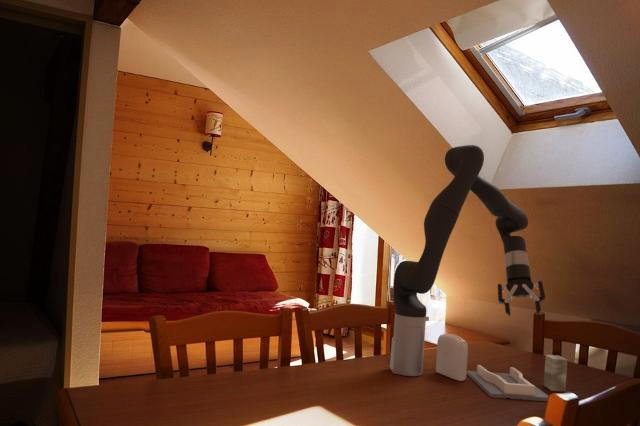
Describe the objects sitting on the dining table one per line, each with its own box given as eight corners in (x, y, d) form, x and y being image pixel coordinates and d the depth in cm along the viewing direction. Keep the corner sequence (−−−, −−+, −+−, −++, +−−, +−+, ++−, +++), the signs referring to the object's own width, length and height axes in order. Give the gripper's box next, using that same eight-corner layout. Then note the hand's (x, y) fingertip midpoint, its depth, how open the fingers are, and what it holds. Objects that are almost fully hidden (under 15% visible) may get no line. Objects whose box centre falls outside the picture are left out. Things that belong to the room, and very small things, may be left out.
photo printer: (433, 372, 161) (436, 331, 161) (443, 371, 163) (446, 331, 163) (457, 382, 152) (460, 339, 152) (468, 380, 154) (471, 338, 154)
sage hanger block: (551, 390, 150) (553, 358, 150) (543, 385, 155) (545, 354, 155) (565, 391, 150) (567, 359, 150) (557, 386, 155) (559, 355, 155)
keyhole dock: (490, 397, 139) (491, 384, 139) (466, 373, 161) (467, 362, 161) (550, 401, 140) (551, 388, 140) (518, 377, 162) (518, 366, 162)
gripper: (494, 264, 175) (499, 312, 168) (540, 261, 170) (547, 310, 163) (495, 272, 181) (501, 318, 174) (540, 268, 177) (547, 316, 170)
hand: (523, 314), depth 169 cm, fingers open, 8 cm apart
